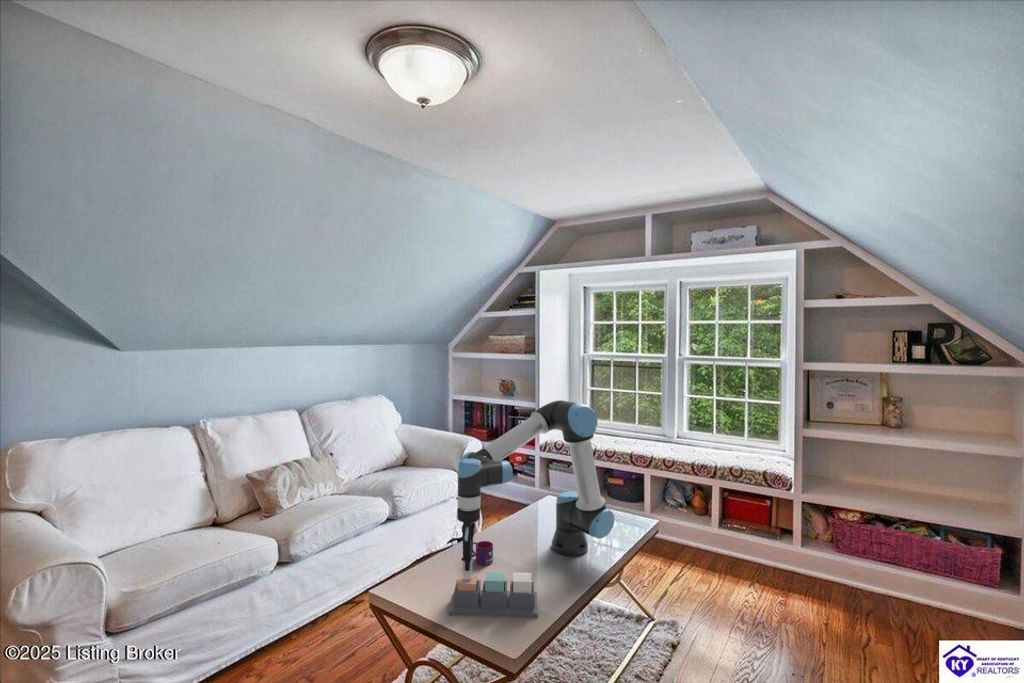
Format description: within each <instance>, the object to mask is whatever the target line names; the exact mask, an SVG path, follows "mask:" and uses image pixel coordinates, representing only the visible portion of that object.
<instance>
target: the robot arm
mask: <svg viewBox="0 0 1024 683" xmlns="http://www.w3.org/2000/svg"><path fill="white" fill-rule="evenodd" d="M597 427H598V416H597V413H596V412H595V411H594V409H593V408H592V407H590V406H589V405H586V404H585V403H580V402H572V401H567V400H563V399H561V400H560V399H559V400H555V401H551V402H549V403H547V404H545V405H542V406H541V407H539V408H537V409H535V410H534V411H533V412H531V414H530V417H528V418H526V419H525V420H524V421H522V422H521V423H519V424H517V425H516V426H513V428H512V429H510V430H508V431H507V432H505V433H504V434H502V435H501V436H499V437H498V438H496V439H495V440H493V441H492V442H490V443H489V444H487V445H485V446H484V447H482V448H481V449H479V450H478V451H476V452H475V451H468V452H466V453H465V454H464V455H462V458H461V460H460V461H459V462H458V465H457V466H458V467H457V496H456V497H455V500H456V501H457V509H456V519H457V521H459V522H460V523H462V526H461V533H462V534H461V535H462V536H461V538H462V557H461V562H463V568H462V569H463V570H462V571H463V574H462V575H463V580H471V579H472V575H473V558H475V555H474V554H473V553H472V552H473V550H474V544H473V542H474V537H475V536H474V535H475V527H476V523H475V522H478V521H479V520H480V519H481V508H480V507H481V500H482V499H481V498H482V497H481V496H482V494H481V492H482V490H481V489H482V488H487V487H490V486H491V487H492V486H499V485H503V484H506V483H509V482H510V481H511V480H512V478H513V472H514V470H513V466H512V465H511V463H510V461H508V460H504V459H505V458H507V457H509V456H510V455H511V454H513V453H514V452H516V451H517V450H518V449H520V448H521V447H523V446H525V445H526V444H527V443H529V442H530V441H532V440H534V439H535V438H536V437H538V436H539V435H541V434H543V435H544V434H547V433H548V432H550V431H553V430H558V431H561V433H562V437H563V441H564V442H565V443H567V444H568V448H569V454H570V459H571V464H572V469H573V474H574V481H575V485H576V491H564V492H561V493H558V494H557V496H556V502H555V505H556V506H555V510H556V511H555V531H554V533H553V536H552V539H551V549H552V551H553V552H555V553H557V554H559V555H562V556H567V557H569V556H570V557H575V556H576V557H577V556H582V555H585V554H586V553H587V552H588V549H589V542H588V540H587V537H586V534H587V535H589V536H590V537H593V538H596V539H599V540H600V539H603V538H606V537H607V536H608V535H609V534H610V532H611V531H612V529H613V527H614V524H615V515H614V512H613V511H612V510H611V509H609V508H607V503H606V499H605V498H604V497H603V496H602V495H601V490H600V486H599V485H600V484H599V481H598V475H597V468H596V463H595V459H594V458H595V457H594V452H593V446H592V441H591V440H592V439H593V438H594V436H595V435H594V434H595V432H596V430H597Z"/></svg>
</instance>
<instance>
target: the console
mask: <svg viewBox="0 0 1024 683" xmlns="http://www.w3.org/2000/svg"><path fill="white" fill-rule="evenodd" d="M458 580H459V579H457V580H456V583H455V586H454V589H453V596H452V599H451V604H450V608H449V612H448V613H449V614H448V615H449V616H466V617H468V616H469V617H471V616H472V617H497V618H498V617H500V618H501V617H502V618H503V617H507V618H535V619H538V618H539V610H538V595H537V594H538V592H537V591H536V590H535V581H532V593H513V580H510V582H509V583H510V584H509V590H508V580H504V592H485V579H484V580H483V581H482V580H480V579H478V585H477V592H468V591H457V583H458ZM481 586H482V589H481Z"/></svg>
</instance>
